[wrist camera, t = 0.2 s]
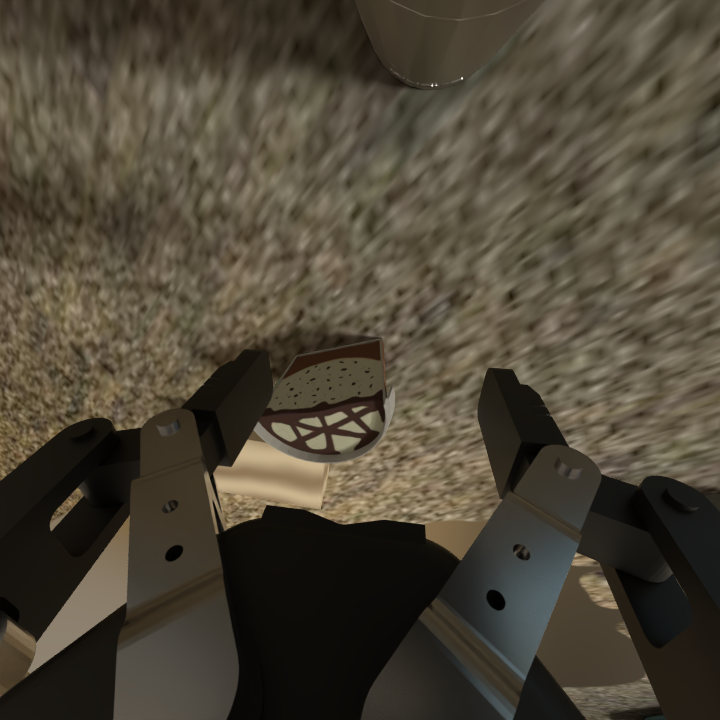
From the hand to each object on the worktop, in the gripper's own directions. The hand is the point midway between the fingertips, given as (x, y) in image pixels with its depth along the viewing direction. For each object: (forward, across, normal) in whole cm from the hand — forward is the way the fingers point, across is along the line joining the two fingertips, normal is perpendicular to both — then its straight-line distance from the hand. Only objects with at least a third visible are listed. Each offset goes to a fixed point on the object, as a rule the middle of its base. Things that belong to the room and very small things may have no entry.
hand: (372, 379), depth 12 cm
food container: (+19, +4, +12) cm, 23 cm away
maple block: (+19, +14, +24) cm, 34 cm away
